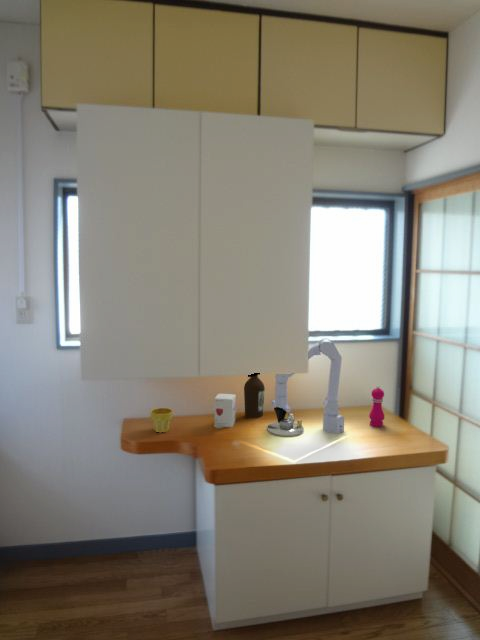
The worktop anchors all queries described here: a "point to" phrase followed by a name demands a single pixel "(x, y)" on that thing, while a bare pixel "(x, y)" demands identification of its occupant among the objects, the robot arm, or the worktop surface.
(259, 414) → the olive oil
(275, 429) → the turntable
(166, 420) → the plant pot
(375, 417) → the pepper mill
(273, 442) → the worktop surface
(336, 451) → the worktop surface
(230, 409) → the supplement box
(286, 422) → the cover
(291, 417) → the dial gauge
